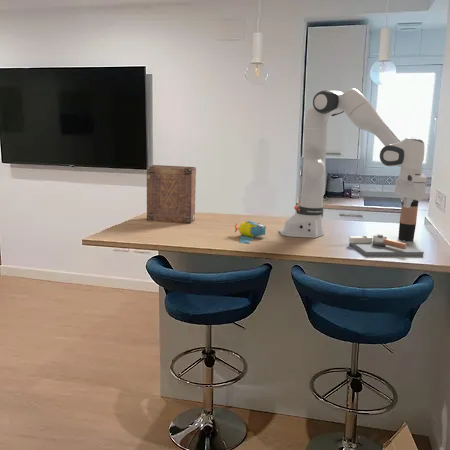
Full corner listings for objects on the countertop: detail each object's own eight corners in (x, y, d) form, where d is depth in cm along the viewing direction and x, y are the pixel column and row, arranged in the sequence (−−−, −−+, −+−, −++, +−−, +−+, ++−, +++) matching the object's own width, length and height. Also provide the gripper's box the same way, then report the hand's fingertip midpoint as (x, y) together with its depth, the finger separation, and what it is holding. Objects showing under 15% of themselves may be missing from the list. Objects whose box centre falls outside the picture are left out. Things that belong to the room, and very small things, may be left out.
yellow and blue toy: (237, 214, 247) (266, 216, 245) (236, 230, 249) (265, 232, 247) (232, 225, 219) (265, 228, 218) (231, 243, 221) (263, 246, 220)
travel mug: (395, 237, 241) (399, 198, 237) (409, 238, 242) (414, 199, 238) (401, 241, 234) (406, 201, 230) (416, 241, 234) (421, 201, 230)
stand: (363, 256, 205) (364, 245, 204) (347, 244, 224) (348, 234, 223) (423, 256, 208) (424, 246, 207) (401, 244, 227) (402, 235, 226)
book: (146, 220, 264) (146, 166, 257) (151, 217, 272) (151, 164, 266) (190, 223, 259) (191, 168, 253) (194, 220, 268) (195, 167, 262)
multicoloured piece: (369, 243, 218) (370, 234, 217) (377, 242, 222) (378, 233, 221) (400, 252, 206) (401, 242, 205) (408, 250, 209) (409, 240, 208)
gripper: (392, 172, 216) (389, 203, 219) (415, 178, 196) (411, 211, 199) (406, 173, 216) (402, 203, 219) (429, 178, 196) (425, 211, 199)
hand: (406, 207), depth 209 cm, fingers closed
